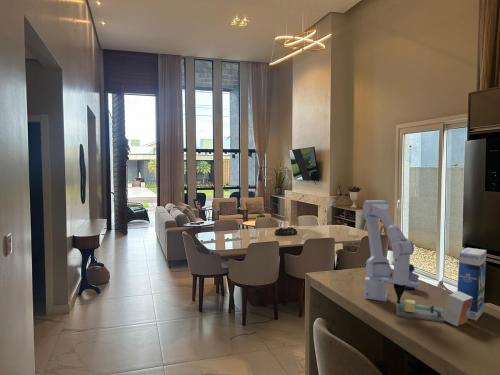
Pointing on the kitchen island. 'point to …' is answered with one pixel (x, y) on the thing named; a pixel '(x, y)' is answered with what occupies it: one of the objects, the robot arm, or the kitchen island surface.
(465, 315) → the small box
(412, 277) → the potion bottle
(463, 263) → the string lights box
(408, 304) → the sleeve
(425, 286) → the kitchen island surface
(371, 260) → the robot arm
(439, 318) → the teal rod on plate
